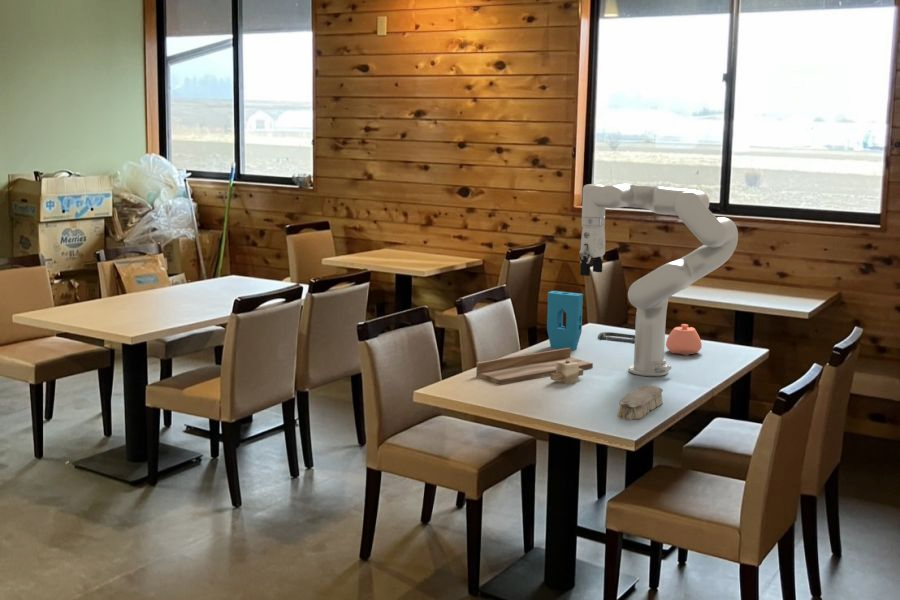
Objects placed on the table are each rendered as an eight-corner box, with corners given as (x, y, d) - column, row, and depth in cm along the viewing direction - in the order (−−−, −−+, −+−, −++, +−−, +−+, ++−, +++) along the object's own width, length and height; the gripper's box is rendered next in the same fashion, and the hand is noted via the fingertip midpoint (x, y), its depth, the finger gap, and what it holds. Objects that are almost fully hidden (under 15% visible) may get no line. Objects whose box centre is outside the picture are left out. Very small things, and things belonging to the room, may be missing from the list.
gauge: (586, 380, 308) (587, 359, 307) (557, 385, 301) (558, 364, 300) (575, 376, 312) (576, 356, 311) (547, 382, 305) (547, 361, 304)
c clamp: (655, 340, 368) (656, 333, 368) (637, 349, 354) (638, 341, 354) (606, 334, 379) (606, 327, 379) (587, 342, 365) (587, 334, 365)
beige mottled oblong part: (639, 423, 264) (640, 405, 263) (613, 419, 268) (613, 401, 267) (666, 402, 285) (667, 385, 284) (642, 398, 288) (642, 382, 288)
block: (545, 347, 353) (547, 292, 349) (551, 344, 357) (553, 290, 354) (576, 351, 347) (578, 296, 343) (581, 348, 351) (583, 294, 347)
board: (592, 367, 323) (593, 354, 323) (499, 384, 301) (499, 370, 300) (568, 360, 333) (568, 347, 332) (476, 376, 311) (476, 362, 310)
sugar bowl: (659, 352, 346) (660, 324, 344) (678, 346, 356) (680, 319, 355) (690, 358, 338) (691, 329, 336) (709, 351, 348) (711, 323, 347)
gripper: (592, 225, 311) (590, 278, 314) (614, 220, 326) (612, 271, 329) (571, 223, 315) (569, 275, 318) (593, 219, 330) (591, 269, 333)
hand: (591, 273), depth 324 cm, fingers open, 9 cm apart
